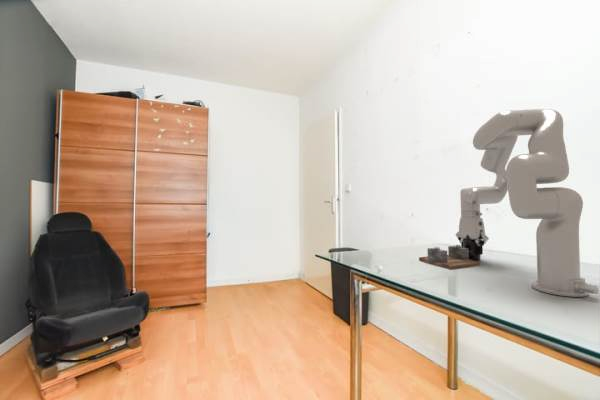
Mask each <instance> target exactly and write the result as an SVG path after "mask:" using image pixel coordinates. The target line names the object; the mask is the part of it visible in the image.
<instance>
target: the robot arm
mask: <svg viewBox="0 0 600 400" xmlns="http://www.w3.org/2000/svg"><path fill="white" fill-rule="evenodd" d="M562 116H563V115H562V114H561V113H560V112H559V111H557V110H556V109H552V108H551V109H550V108H537V109H535V108H533V109H530V108H529V109H517V110H516V109H515V110H513V109H512V110H509V109H508V110H503V111H499V112H498V113H496V114H494V115H493V116H492V117H491V118H490V119H489V120H487V121H486V122H485V123H484V124H483V125H482V126H480V127H479V128H478V129H477V131H476V132H475V134H474V136H473V138H472V144H473V147H474V148H475V149H476V150H479V151H484V153H483V155H482V158H481V160H480V167H481V168H482V169H484V170H485V171H488V172H491V173H493V174H495V176H496V178H495V181H494V184H493V185H492V186H472V187H468V188H467V187H466V188H462V189H461V190H460V191H459V193H460V194H459V196H460V214H461V215H460V219H459V225H458V231H457V232H456V233H455V236H456V237H457V240H458V241H459V243H460V245H461V247H463V241H464V240H465V239H466V236H467V235H469V237H470V238H471V239H472V240H475V242H476V244H477V246H476V255H483V254H484V253H483V251H484V250H483V249H484V248H483V247H484V245H485V244H486V243H487V242H488V240H489V237H488V235H487V234H486V229H485V224H484V223H485V222H484V219H483V217H481V216H483V213H482V212H481V205H493V204H499V203H500V202H501V201H503V199H504V198H505V196H506V195H507V194H508V198H509V205H510V208H511V211H512V212H513V215H515V216H516V217H518V218H520V219H523V220H540V222H539V223H538V226H537V228H536V233H535V236H536V238H535V239H536V241H535V242H536V244H535V245H536V266H537V267H536V268H537V280H533V281H531V282H530V284H531V285H530V286H531V287H532V288H533V289H535V290H536V291H540V292H543V293H546V294H549V295H556V296H562V297H569V298H571V297H573V298H581V297H583V298H584V297H588V296H589V294H593V295H597V294H599V288H598V286H597V285H595V284H589V283H587V282H586V278H584V277H583V278H582V277H581V262H580V261H581V259H580V257H581V255H580V221H581V216H582V212H583V208H584V202H583V199H582V198H583V197H582V196H581V194H580V193H579V192H578V191H576V190H575V189H572V188H569V187H564V186H563V187H562V186H561V187H560V186H559V187H557V186H555V187H554V186H553V187H551V186H550V187H538V186H537V185H541V184H542V185H544V184H545V185H547V184H548V185H549V184H557V183H560V182H563V181H565V180H566V179H567V178H568V177H569V174H570V167H569V165H570V164H569V159H568V155H567V150H566V144H565V143H566V142H565V139H564V119H563V117H562ZM519 136H529V140H528V142H527V150H528V153H523V154H518V155H515V156H514V157H512V158H511V159H510V156H511V155H512V152H513V149H514V148H515V145H516V143H517V140H518V137H519ZM509 159H510V160H509Z"/></svg>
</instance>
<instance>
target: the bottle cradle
mask: <svg viewBox="0 0 600 400" xmlns="http://www.w3.org/2000/svg"><path fill="white" fill-rule="evenodd" d="M447 249H448V250H445V249H441V248H440V247H439V246H434V247H429V248H427V256H421V257H418V261H420V262H423V263H426V264H431V265H433V266H436V267H440V268H443V269H447V270H456V269H457V270H459V269H465V268H472V267H479V266H481V261H474V260H469V248H463V247H461V244H455V245H448V247H447Z"/></svg>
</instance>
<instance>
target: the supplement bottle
mask: <svg viewBox="0 0 600 400" xmlns="http://www.w3.org/2000/svg"><path fill="white" fill-rule="evenodd" d="M476 246H477V244H476V242H475V240H472V239H471V238H470V237H469V235H467V236H466V239H465V240H464V241H463V248H469V260H474V261H478V262H481V259H482V258H481V255H476Z"/></svg>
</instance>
